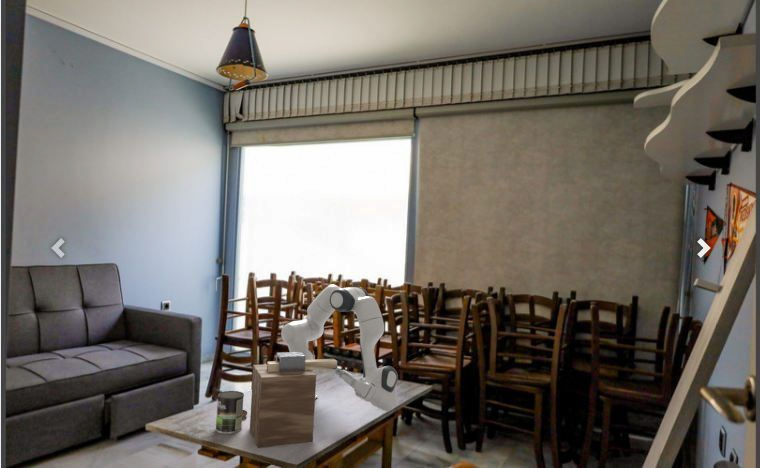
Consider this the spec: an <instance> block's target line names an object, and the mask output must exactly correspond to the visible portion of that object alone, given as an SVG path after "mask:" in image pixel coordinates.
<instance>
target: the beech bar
mask: <svg viewBox="0 0 760 468" xmlns="http://www.w3.org/2000/svg"><path fill="white" fill-rule="evenodd" d="M266 364H267V370H268V372H273V371H279V367H280V361H275V360H273V361H267V362H266ZM327 369H329V370H330V369H338V360H336V359H335V358H321V359H320V358H319V359H313V360H305V370H327Z"/></svg>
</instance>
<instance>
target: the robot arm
mask: <svg viewBox="0 0 760 468" xmlns="http://www.w3.org/2000/svg"><path fill="white" fill-rule="evenodd" d="M335 311H338V312H346V313H348V312H354V313H355V315H356V317H357V323H358V326H359V332H360V333H359V334H360V338H359V347H360V356H361V360H362V361H361V362H362V369H363V375H362V377H360V378H358V377H357V376H355V375H354V374H352V373H350V372H349V371H347V370H345V369H342V370H341V369H338V368H334V373H335V374H336V375H338V377H339V378H340V379H342V380H343V381H344V382H345V383H346V384H348V385H349V387H351V388H352V389H353V391H354V392H355V396H356V397H358V398H359V399H361V400H363V401H364V402H368V403H370V404H371V405H372V406H373V407H374V408H378V409H379V410H382V411H385V412H389V411H391V410H393V409H394V408H395V407H396V406H397V404H398V402H399V397H398V394H397V385H398V381H399V375H398V372H397V370H396V369H395V368H394V367H393V366H391V365H386V366H381V367H377V362H376V361H377V360H376V355H375V347H376V344H377V343H378V341H379V340H380V339H381V338H382V336H383V335H384V333H385V323H384V318H383V315H382V312H381V309H380V307H379V305H378V302H377V300H376V298H374V297H373V296H371V295H369V293H368V291H367V290H366V289H364V287H363V288H362V287H358V286H357V287H356V286H355V287H354V286H350V287H349V286H348V287H340V286H338V285H336V284H329V285H326V287H325V288H324V289H322V291H321V292H319V293H318V295H316V297H315V298H314V299H313V301H312V302H311V303H310V304H309V306H308V307H307V310H306V313H307V315H306V316H305V317H304V318H303V319H300V320H293V321H290V322H288V323H286V324H284V326H283V327H282V328H281V332H280V334H281V335H280V336H281V338H282V341H283V342H284V343H286V345H287V347H288V351H289V352H302V353H303V354H304V355H305V356H306V358H305V360H314V356H313V353H312V352H311V351H310V350H309V347H308V342H312V341H315V340H317V339H319V338H321V337H322V335H323V334H324V331H325V328H324V325H325V323H326V322H327V321H328V320H329V318H330V317H331V316H332V315H333V314H334V312H335ZM312 371H313V372H314V369H312ZM316 398H317V399H318V398H319V395H317V394H316V393H315V400H316Z"/></svg>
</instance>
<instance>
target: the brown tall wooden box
mask: <svg viewBox="0 0 760 468" xmlns="http://www.w3.org/2000/svg"><path fill="white" fill-rule="evenodd" d="M252 368H253V369H252V380H251V381H252V383H251V384H252V386H251V400H250V402H251V403H250V416H249V417H250V418H249V419H250V421H249V430H250V434H251V435H252V438H253V441H254V444H255V445H256V448H257V449H262V448H271V447H278V446H279V447H280V446H288V445H289V446H290V445H297V444H298V445H299V444H307V443H308V444H309V443H313V442H314V426H315V425H314V424H315V406H316V404H315V403H316V399H315V394H316V390H317V389H316V387H317V373H315V372H314V370H313V369H312V370H313V371H312V370H305V371H296V372H279V371H273V372H268V370H267V363H265V364H253V365H252Z"/></svg>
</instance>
